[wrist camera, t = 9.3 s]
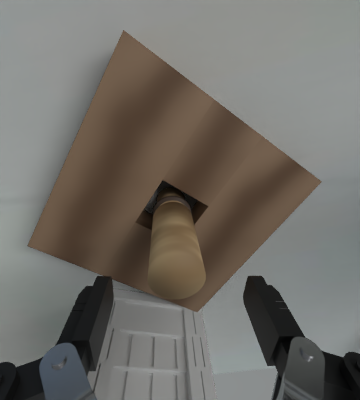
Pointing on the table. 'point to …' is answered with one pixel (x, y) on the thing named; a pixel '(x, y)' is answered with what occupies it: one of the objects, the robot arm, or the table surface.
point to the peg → (174, 248)
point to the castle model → (153, 352)
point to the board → (164, 177)
